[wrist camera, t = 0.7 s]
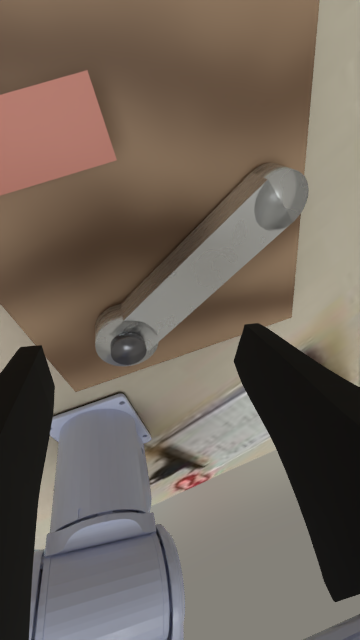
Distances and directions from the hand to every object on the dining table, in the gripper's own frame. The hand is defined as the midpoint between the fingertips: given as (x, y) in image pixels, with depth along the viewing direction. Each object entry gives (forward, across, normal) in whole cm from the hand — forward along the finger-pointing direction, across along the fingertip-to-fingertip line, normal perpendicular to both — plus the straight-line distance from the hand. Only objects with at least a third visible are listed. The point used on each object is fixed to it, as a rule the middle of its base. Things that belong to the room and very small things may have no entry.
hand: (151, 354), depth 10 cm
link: (+8, -3, +1) cm, 8 cm away
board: (+9, -1, -1) cm, 9 cm away
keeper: (+8, +4, -6) cm, 11 cm away
